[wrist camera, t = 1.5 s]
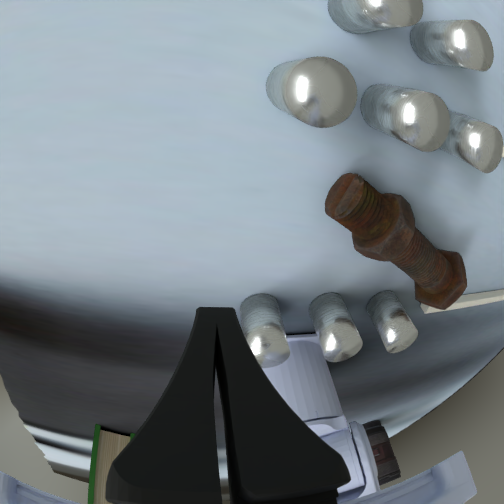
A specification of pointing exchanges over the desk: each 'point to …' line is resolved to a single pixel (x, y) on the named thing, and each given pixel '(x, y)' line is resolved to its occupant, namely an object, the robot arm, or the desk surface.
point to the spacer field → (389, 122)
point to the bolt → (396, 239)
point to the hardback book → (103, 461)
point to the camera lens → (382, 452)
